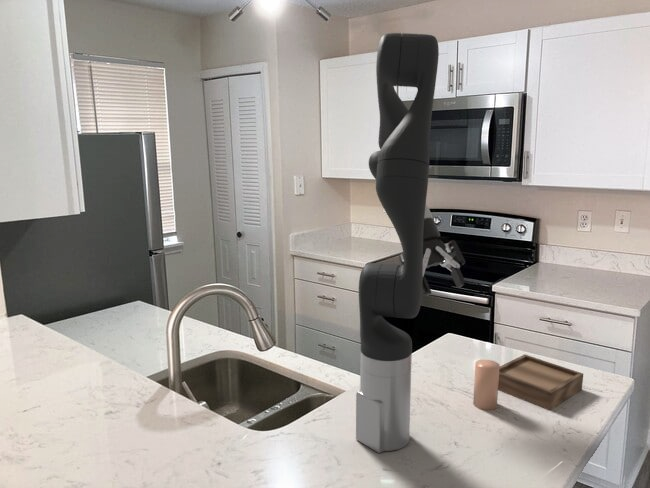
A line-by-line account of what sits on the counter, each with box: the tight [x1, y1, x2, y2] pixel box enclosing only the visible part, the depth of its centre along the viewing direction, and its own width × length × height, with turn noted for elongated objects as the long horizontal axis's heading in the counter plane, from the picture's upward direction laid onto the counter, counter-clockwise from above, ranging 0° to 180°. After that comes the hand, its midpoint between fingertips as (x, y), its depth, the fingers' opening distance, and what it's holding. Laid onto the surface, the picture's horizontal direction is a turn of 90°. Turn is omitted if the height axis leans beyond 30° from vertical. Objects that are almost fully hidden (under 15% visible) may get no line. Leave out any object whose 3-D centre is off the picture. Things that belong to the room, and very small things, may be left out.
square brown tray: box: [498, 354, 584, 411], centre depth 118 cm, size 14×14×4 cm
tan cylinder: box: [472, 359, 501, 411], centre depth 111 cm, size 5×5×9 cm
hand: (444, 290), depth 115 cm, fingers open, 8 cm apart
